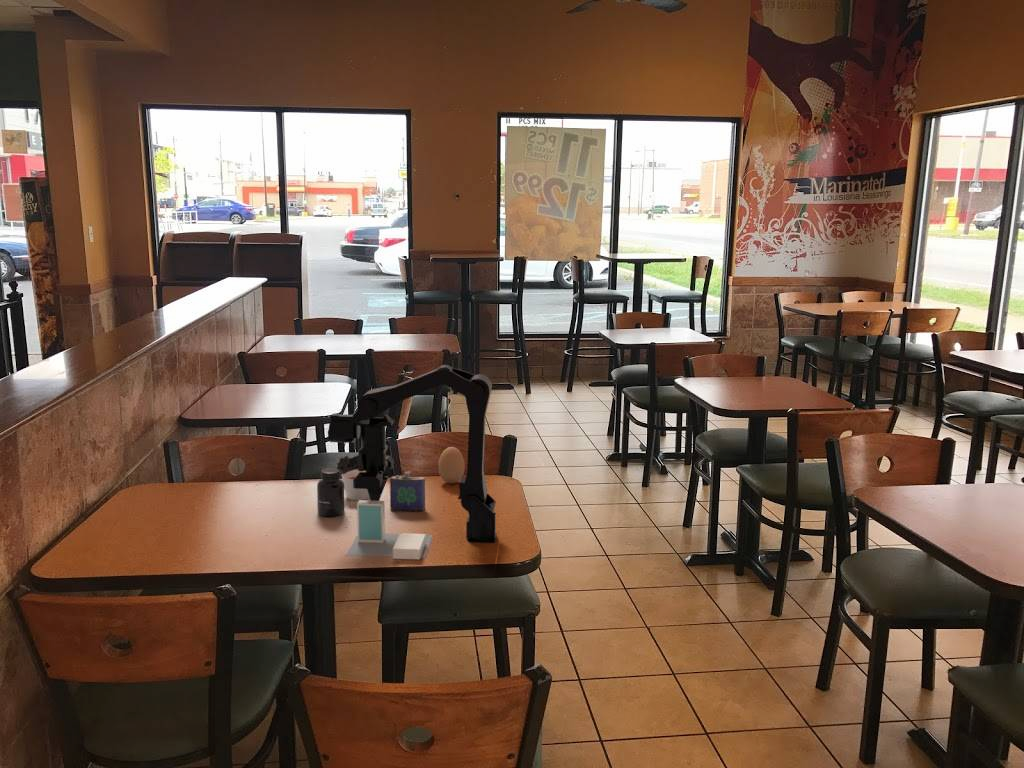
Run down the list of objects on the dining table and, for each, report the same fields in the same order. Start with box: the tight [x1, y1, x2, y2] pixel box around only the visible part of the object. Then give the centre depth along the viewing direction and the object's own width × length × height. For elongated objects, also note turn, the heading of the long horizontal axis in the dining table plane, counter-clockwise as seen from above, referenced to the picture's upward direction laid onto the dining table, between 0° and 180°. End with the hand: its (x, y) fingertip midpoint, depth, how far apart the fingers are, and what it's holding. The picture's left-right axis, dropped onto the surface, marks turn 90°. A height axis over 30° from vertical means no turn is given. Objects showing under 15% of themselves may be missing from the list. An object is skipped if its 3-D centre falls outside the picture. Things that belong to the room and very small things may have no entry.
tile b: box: [356, 499, 386, 543], centre depth 204 cm, size 6×2×10 cm, turn 88°
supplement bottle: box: [316, 467, 345, 519], centre depth 222 cm, size 7×7×12 cm
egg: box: [437, 446, 466, 485], centre depth 250 cm, size 8×8×11 cm
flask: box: [389, 470, 426, 513], centre depth 226 cm, size 9×3×11 cm, turn 88°
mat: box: [345, 533, 434, 559], centre depth 202 cm, size 18×14×1 cm
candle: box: [341, 469, 370, 501], centre depth 237 cm, size 9×9×6 cm
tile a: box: [392, 532, 426, 560], centre depth 199 cm, size 6×2×10 cm
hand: (374, 505), depth 208 cm, fingers closed
